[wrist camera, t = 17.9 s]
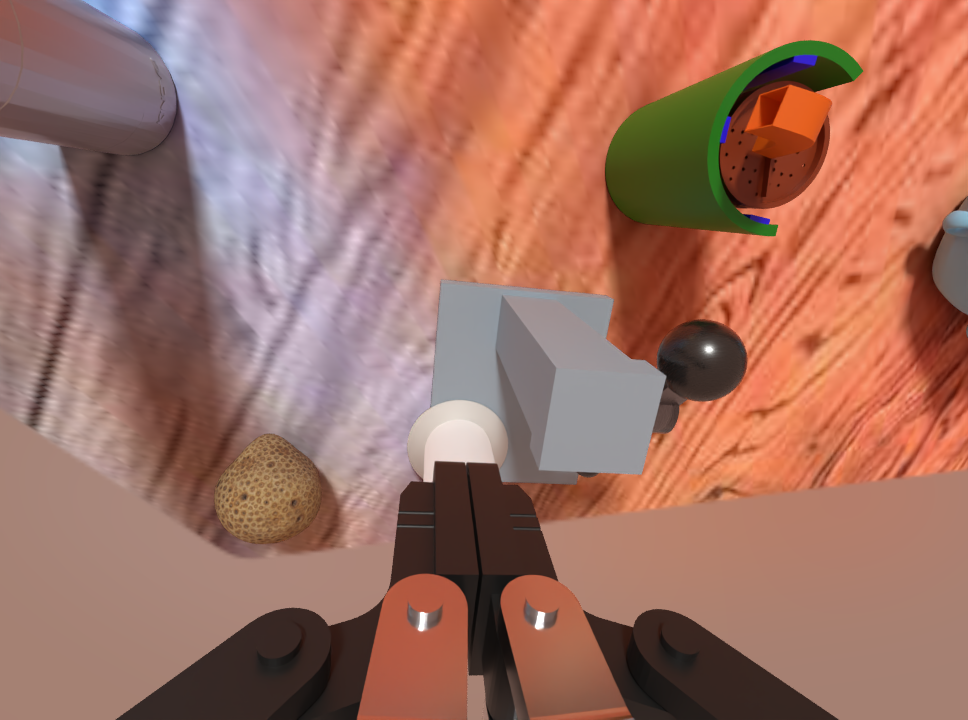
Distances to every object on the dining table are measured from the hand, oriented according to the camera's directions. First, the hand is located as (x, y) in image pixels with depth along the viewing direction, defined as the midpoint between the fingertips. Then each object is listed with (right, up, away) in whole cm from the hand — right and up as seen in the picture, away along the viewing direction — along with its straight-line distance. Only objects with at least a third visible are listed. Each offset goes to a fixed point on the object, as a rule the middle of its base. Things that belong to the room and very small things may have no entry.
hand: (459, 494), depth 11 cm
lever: (+11, +1, +23) cm, 25 cm away
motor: (+16, +21, +30) cm, 40 cm away
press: (+2, 0, +35) cm, 35 cm away
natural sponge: (-19, -7, +36) cm, 41 cm away
